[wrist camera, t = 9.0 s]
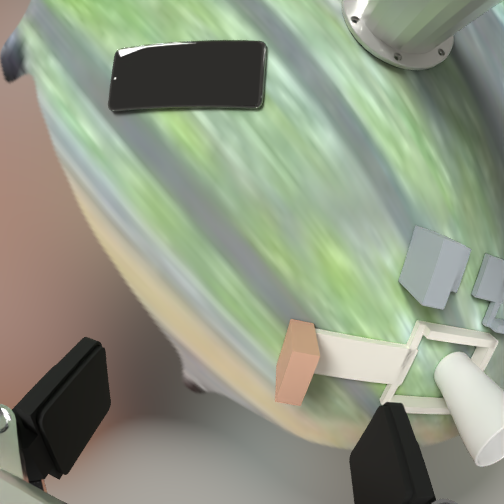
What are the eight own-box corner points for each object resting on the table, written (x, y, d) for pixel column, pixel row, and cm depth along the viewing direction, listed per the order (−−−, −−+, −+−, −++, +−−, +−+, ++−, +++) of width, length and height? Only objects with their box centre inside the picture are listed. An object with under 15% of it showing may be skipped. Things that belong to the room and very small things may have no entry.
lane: (297, 295, 32) (301, 324, 26) (489, 332, 31) (515, 357, 25) (270, 383, 35) (268, 420, 29) (451, 403, 34) (469, 432, 28)
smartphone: (262, 108, 28) (106, 111, 28) (262, 110, 29) (111, 112, 30) (267, 39, 26) (114, 48, 27) (267, 43, 27) (118, 51, 28)
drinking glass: (478, 359, 33) (535, 428, 18) (443, 395, 34) (487, 473, 20) (456, 335, 32) (520, 409, 18) (417, 374, 34) (464, 460, 19)
